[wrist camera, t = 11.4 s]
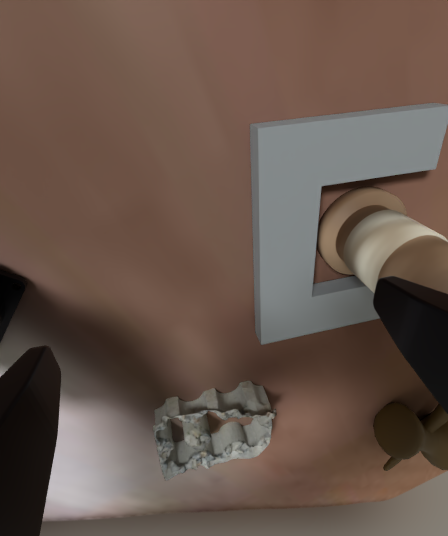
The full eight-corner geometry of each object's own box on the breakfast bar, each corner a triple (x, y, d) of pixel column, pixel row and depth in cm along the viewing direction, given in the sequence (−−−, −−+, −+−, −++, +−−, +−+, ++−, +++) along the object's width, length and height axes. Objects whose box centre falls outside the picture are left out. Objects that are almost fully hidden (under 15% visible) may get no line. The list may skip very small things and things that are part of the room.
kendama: (507, 340, 38) (393, 451, 45) (461, 316, 35) (343, 441, 41) (564, 380, 33) (426, 499, 40) (517, 357, 29) (372, 493, 36)
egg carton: (266, 373, 31) (283, 410, 28) (261, 423, 35) (275, 461, 32) (149, 394, 29) (152, 438, 26) (157, 445, 33) (160, 490, 29)
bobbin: (354, 278, 27) (497, 416, 17) (298, 245, 24) (428, 387, 14) (411, 212, 25) (617, 322, 14) (358, 168, 22) (566, 265, 12)
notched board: (255, 332, 28) (261, 344, 26) (249, 123, 19) (258, 128, 18) (385, 303, 30) (396, 314, 28) (433, 102, 21) (452, 105, 20)
